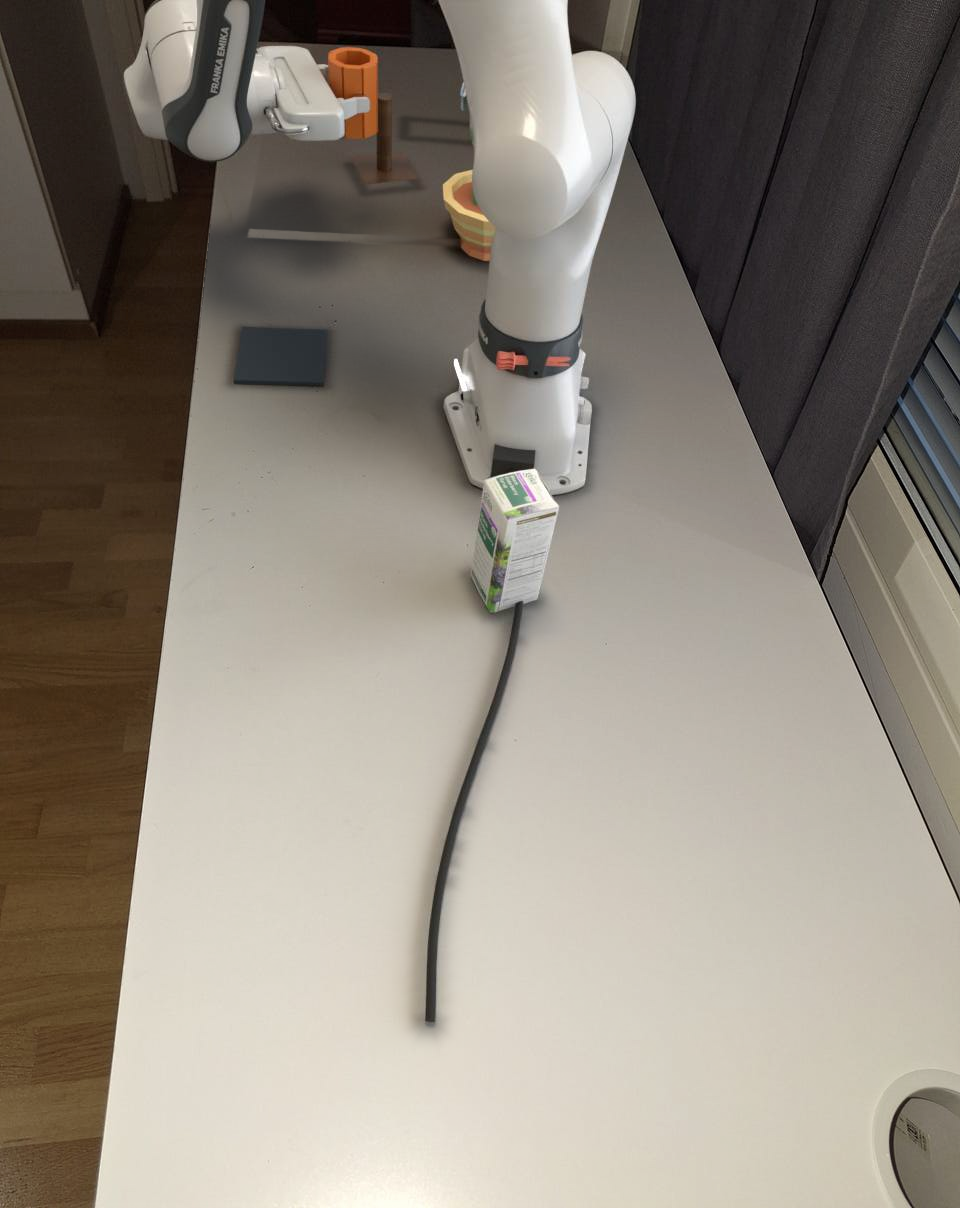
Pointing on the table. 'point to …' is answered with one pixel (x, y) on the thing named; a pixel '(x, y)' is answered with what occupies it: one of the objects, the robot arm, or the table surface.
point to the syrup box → (513, 538)
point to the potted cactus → (468, 210)
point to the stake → (384, 152)
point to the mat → (281, 356)
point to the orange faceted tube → (355, 86)
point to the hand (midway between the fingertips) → (359, 89)
